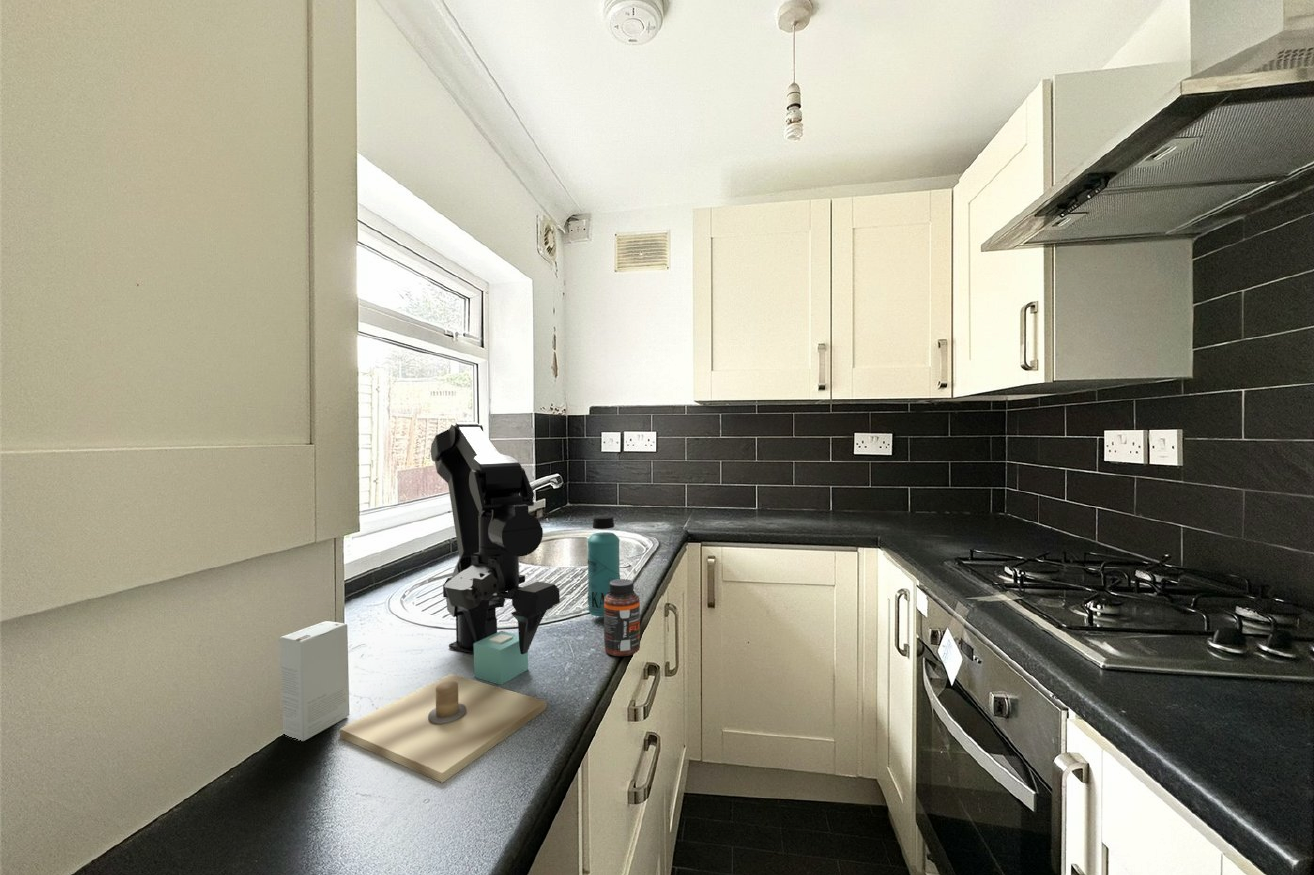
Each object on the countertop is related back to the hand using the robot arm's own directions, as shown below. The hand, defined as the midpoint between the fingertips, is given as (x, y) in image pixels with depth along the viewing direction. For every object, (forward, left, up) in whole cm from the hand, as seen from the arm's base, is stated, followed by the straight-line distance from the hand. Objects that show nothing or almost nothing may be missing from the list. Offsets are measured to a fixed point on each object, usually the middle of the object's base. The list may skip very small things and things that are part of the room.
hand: (501, 647), depth 77 cm
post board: (+4, -13, -4) cm, 14 cm away
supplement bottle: (+12, +15, -4) cm, 20 cm away
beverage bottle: (+1, +26, -4) cm, 26 cm away
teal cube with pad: (0, 0, -4) cm, 4 cm away
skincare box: (-10, -21, -4) cm, 24 cm away
